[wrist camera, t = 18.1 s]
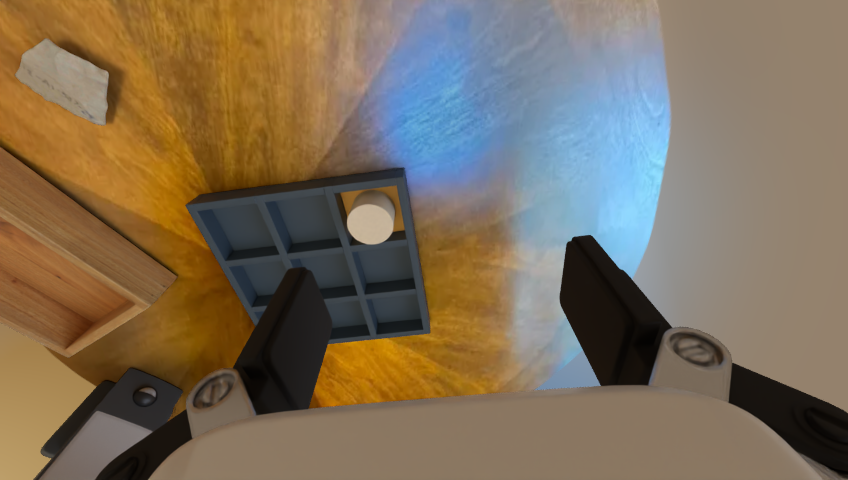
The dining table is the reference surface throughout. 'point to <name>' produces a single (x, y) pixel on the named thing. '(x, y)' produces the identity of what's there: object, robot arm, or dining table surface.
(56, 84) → the stone
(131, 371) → the light fixture
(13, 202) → the tray
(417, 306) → the grid
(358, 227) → the cylinder
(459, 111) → the dining table surface
